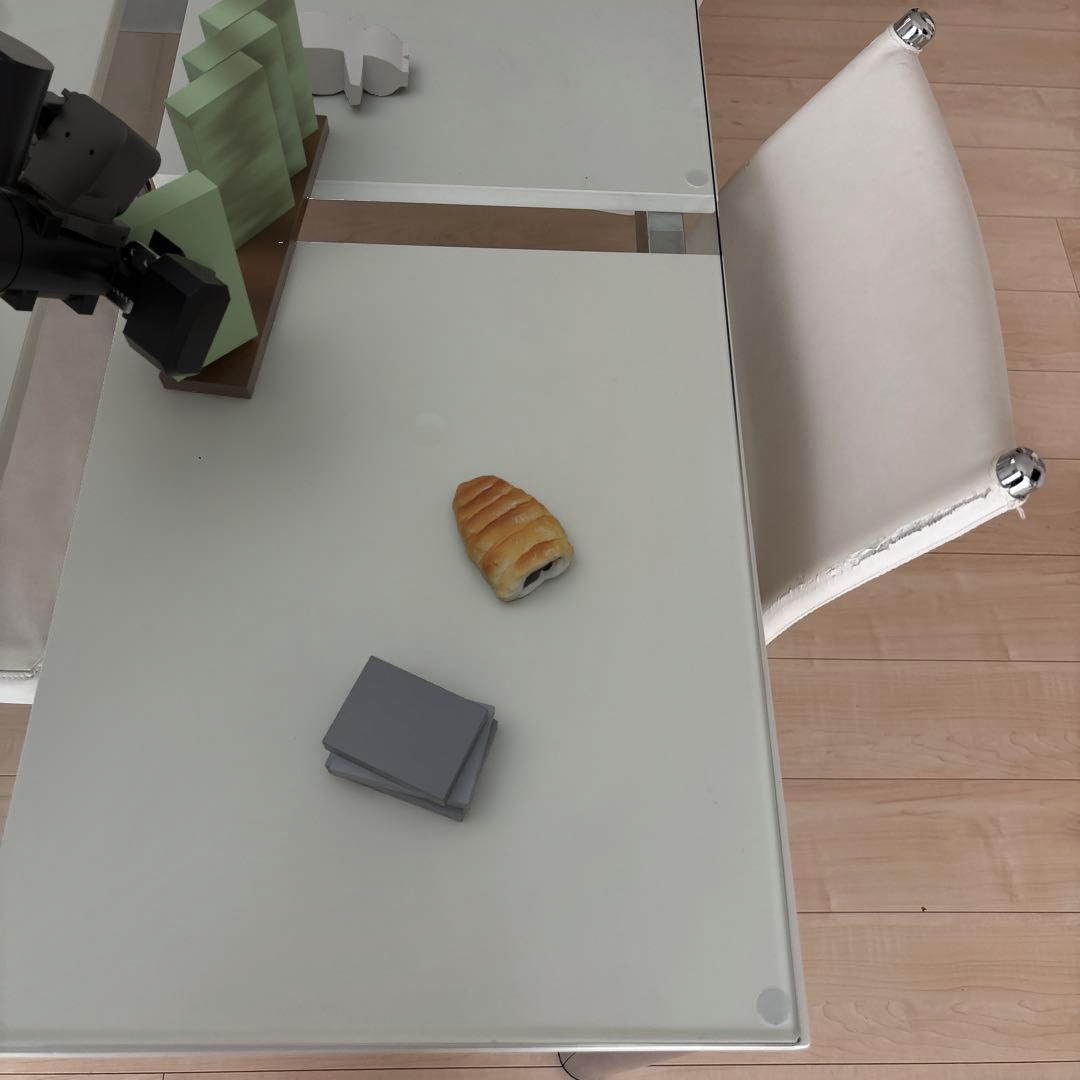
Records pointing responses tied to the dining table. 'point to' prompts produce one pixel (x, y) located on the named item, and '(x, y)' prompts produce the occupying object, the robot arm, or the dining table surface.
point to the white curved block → (352, 56)
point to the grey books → (410, 739)
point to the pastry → (509, 536)
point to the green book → (197, 246)
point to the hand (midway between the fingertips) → (197, 266)
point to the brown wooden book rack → (250, 157)
